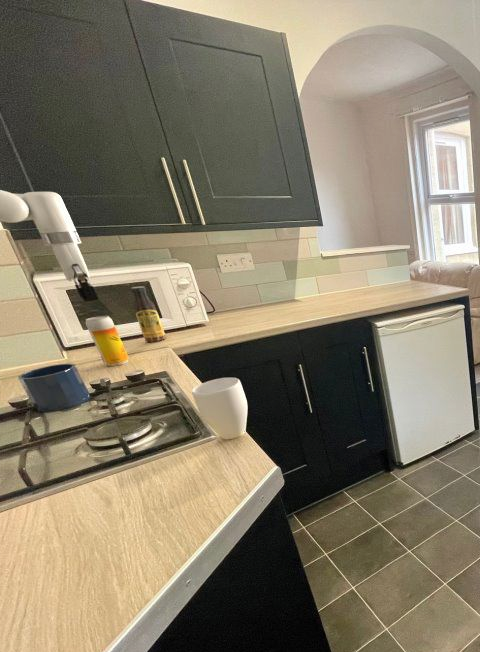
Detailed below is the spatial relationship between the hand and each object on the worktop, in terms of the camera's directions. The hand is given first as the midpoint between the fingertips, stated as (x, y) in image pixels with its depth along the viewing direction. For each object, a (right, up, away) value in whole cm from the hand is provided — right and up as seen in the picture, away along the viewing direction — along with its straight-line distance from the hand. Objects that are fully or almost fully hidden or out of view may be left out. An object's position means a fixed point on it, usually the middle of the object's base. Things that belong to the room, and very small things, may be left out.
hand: (89, 298), depth 127 cm
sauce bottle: (-6, -9, +31) cm, 33 cm away
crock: (+13, -31, -19) cm, 38 cm away
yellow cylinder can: (+1, -19, +8) cm, 21 cm away
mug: (+68, -36, -37) cm, 85 cm away
